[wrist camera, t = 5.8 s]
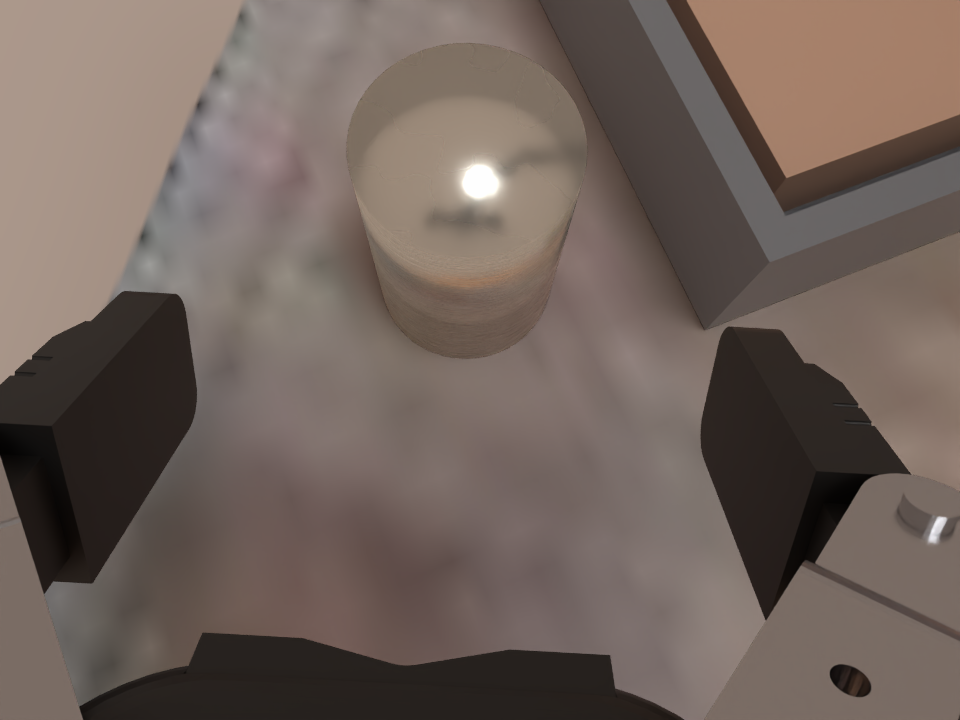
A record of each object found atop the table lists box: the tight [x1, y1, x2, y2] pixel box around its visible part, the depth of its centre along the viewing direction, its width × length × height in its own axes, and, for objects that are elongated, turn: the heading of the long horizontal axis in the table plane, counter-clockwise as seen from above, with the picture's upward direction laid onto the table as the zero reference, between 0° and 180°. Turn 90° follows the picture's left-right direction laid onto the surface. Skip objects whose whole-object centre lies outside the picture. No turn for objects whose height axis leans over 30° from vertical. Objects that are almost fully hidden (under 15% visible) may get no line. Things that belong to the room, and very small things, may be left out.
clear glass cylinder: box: [347, 43, 588, 359], centre depth 22 cm, size 6×6×8 cm
